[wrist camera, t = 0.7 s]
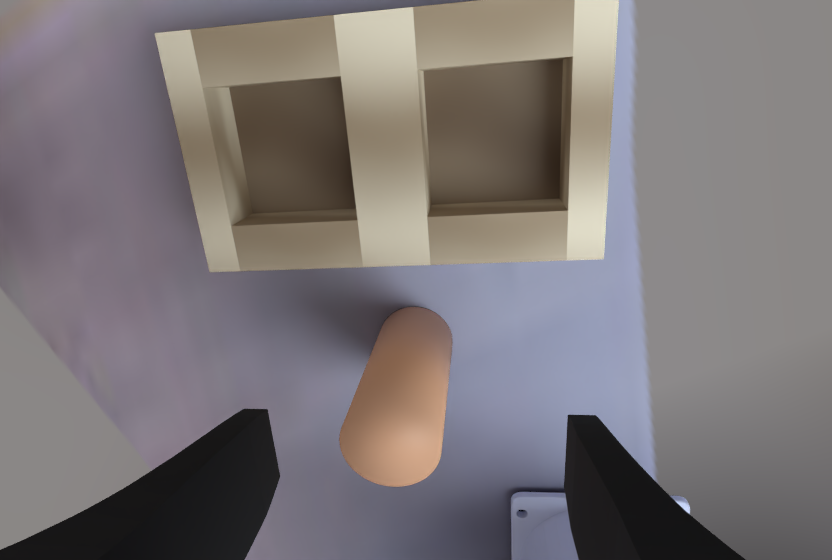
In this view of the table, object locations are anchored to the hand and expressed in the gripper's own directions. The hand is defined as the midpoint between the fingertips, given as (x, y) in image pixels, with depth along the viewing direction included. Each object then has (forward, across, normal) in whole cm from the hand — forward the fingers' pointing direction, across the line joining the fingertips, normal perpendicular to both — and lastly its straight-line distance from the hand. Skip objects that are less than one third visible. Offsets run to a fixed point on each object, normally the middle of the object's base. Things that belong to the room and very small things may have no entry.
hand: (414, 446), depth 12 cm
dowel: (+10, +1, +2) cm, 10 cm away
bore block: (+10, +1, -6) cm, 12 cm away
